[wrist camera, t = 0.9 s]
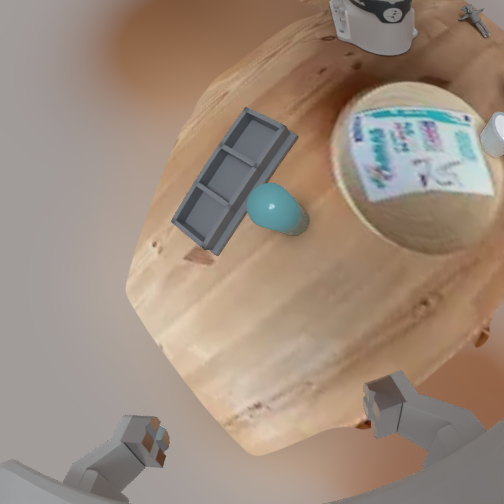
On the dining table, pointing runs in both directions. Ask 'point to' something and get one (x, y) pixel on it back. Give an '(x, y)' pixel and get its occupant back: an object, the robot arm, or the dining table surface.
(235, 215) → the cup rack
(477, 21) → the grey humanoid figurine
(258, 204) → the teal cylinder
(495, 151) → the shot glass
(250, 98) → the dining table surface
